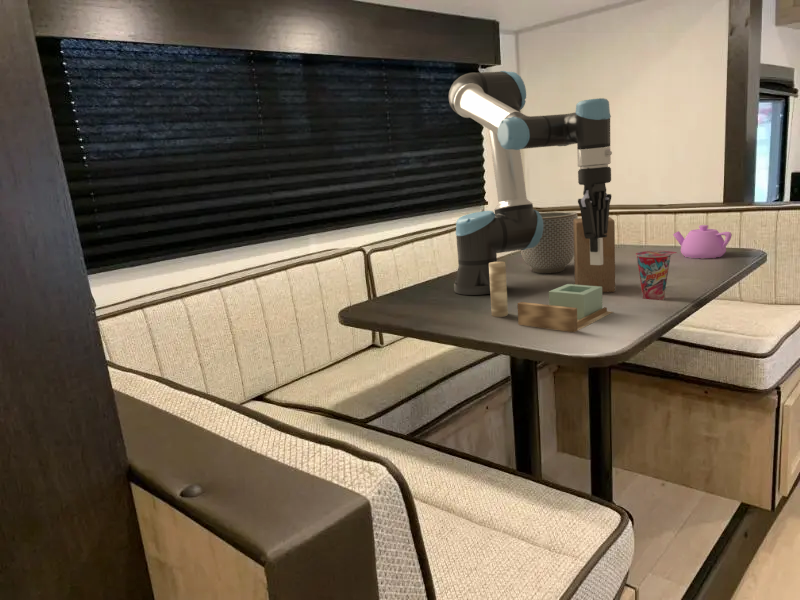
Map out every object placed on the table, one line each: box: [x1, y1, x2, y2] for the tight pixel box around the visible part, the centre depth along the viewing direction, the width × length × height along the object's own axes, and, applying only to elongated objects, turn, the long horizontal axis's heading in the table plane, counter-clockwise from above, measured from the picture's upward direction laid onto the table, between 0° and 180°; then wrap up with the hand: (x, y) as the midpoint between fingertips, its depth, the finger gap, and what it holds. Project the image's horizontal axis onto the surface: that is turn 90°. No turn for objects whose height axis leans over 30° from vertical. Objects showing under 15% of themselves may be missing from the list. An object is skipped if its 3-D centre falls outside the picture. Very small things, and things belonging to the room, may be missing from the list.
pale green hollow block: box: [548, 283, 603, 320], centre depth 141 cm, size 9×9×6 cm
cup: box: [635, 250, 678, 301], centre depth 151 cm, size 9×8×12 cm
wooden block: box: [573, 216, 616, 294], centre depth 167 cm, size 10×10×20 cm
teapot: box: [672, 224, 732, 259], centre depth 203 cm, size 14×20×11 cm
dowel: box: [489, 261, 509, 318], centre depth 146 cm, size 4×4×14 cm
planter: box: [520, 210, 578, 274], centre depth 200 cm, size 20×20×19 cm
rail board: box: [517, 301, 614, 333], centre depth 138 cm, size 14×19×6 cm
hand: (596, 264), depth 147 cm, fingers closed
